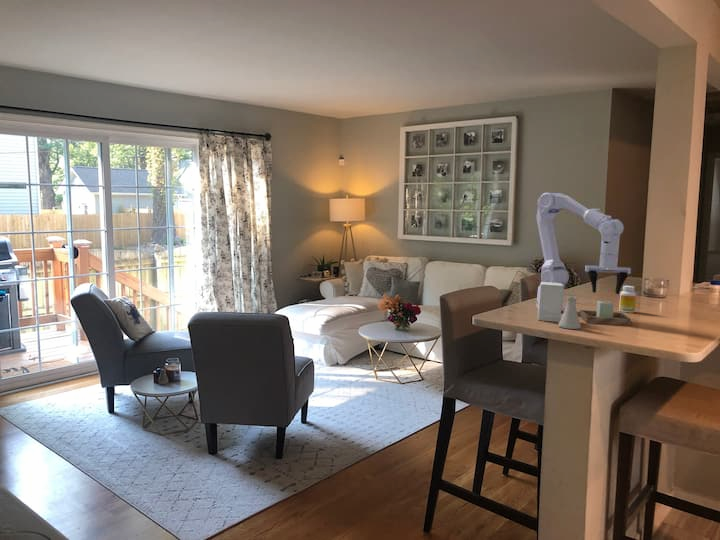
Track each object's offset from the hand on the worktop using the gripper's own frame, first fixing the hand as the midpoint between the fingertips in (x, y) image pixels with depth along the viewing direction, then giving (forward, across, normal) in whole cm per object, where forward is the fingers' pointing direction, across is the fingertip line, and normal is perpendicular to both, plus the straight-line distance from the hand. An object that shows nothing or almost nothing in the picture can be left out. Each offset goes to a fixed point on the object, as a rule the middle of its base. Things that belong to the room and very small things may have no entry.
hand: (605, 292), depth 199 cm
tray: (+10, 0, -2) cm, 10 cm away
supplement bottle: (+10, +13, +20) cm, 25 cm away
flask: (+10, -14, -18) cm, 25 cm away
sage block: (+9, 0, -2) cm, 9 cm away
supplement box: (+10, -19, -7) cm, 23 cm away
